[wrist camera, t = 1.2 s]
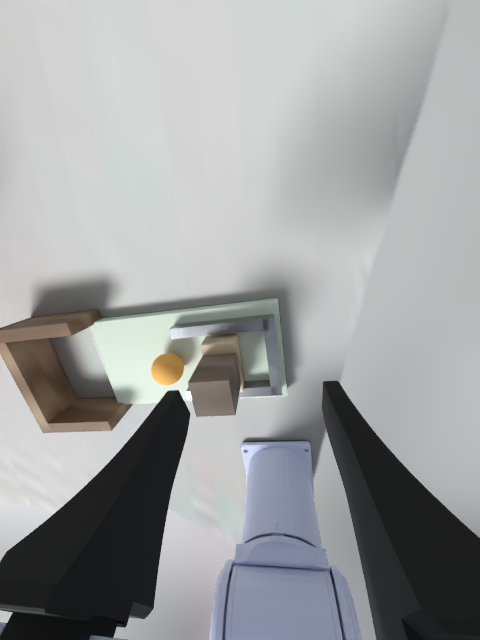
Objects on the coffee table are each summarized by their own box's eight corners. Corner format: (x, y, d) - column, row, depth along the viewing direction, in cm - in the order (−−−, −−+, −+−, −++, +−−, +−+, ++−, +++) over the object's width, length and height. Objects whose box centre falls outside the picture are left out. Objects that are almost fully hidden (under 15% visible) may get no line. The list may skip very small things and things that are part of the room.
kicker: (244, 379, 23) (237, 425, 17) (215, 381, 23) (199, 426, 18) (237, 333, 21) (226, 367, 16) (205, 336, 22) (184, 370, 16)
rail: (281, 387, 23) (282, 395, 22) (191, 392, 25) (187, 399, 23) (273, 313, 21) (274, 318, 19) (173, 324, 22) (168, 329, 21)
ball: (191, 372, 24) (180, 391, 21) (164, 374, 24) (150, 392, 21) (184, 346, 23) (172, 361, 20) (156, 349, 23) (141, 364, 20)
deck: (286, 389, 24) (287, 396, 23) (124, 397, 27) (118, 404, 26) (277, 297, 21) (278, 301, 20) (95, 319, 24) (87, 323, 23)
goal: (132, 404, 28) (111, 430, 24) (72, 407, 29) (42, 432, 25) (98, 309, 24) (66, 322, 20) (30, 317, 25) (-12, 332, 21)
